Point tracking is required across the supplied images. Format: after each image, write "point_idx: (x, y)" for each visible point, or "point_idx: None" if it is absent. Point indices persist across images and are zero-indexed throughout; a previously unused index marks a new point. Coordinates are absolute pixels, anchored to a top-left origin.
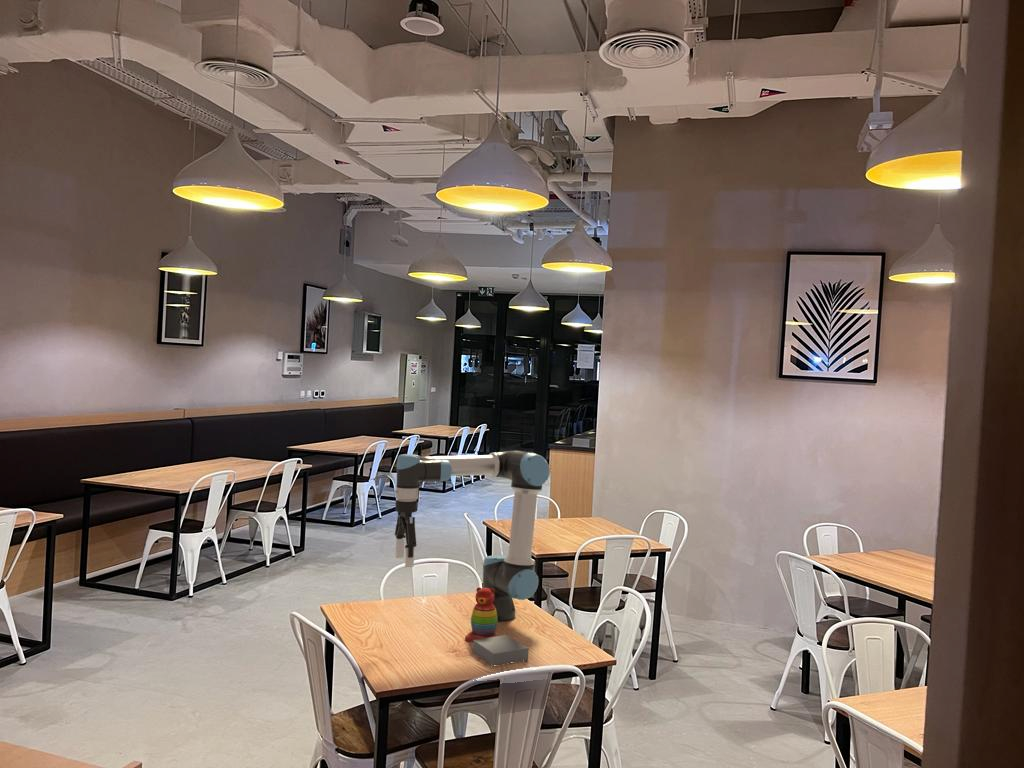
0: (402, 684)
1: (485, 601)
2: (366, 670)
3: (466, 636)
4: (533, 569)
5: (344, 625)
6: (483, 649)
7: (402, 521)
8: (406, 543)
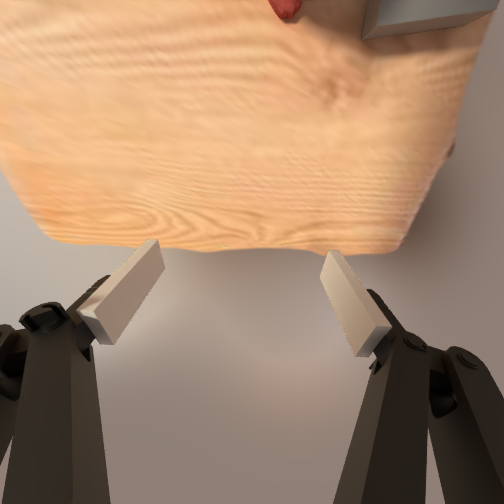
0: (398, 228)
1: None
2: None
3: (286, 10)
4: None
5: None
6: (431, 21)
7: None
8: (369, 381)
